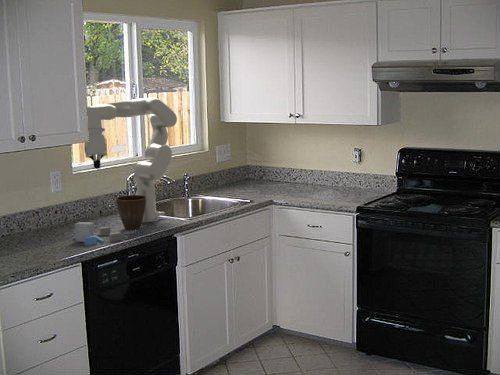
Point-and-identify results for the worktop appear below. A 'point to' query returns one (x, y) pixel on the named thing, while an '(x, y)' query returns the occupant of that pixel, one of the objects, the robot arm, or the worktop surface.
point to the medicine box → (83, 230)
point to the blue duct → (91, 240)
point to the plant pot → (131, 210)
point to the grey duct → (112, 234)
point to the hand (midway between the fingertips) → (97, 168)
